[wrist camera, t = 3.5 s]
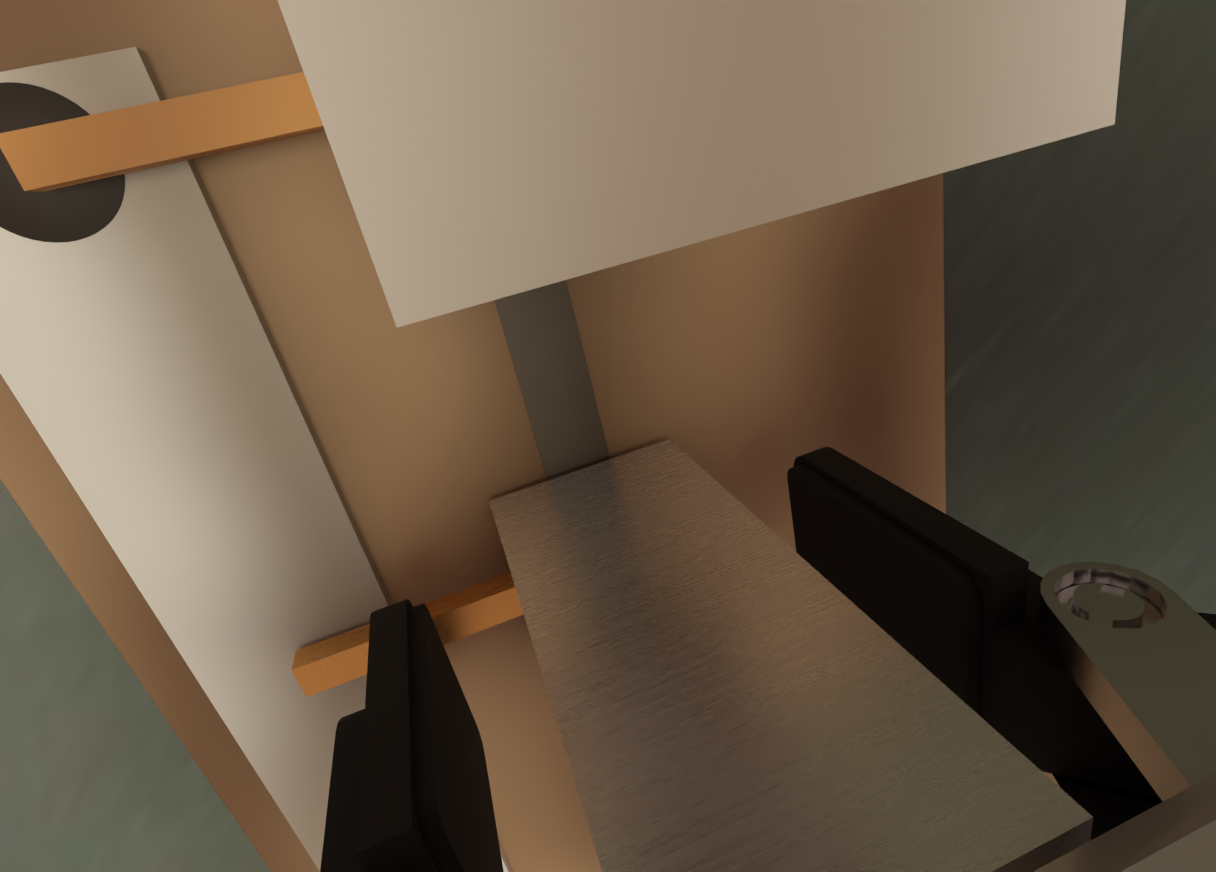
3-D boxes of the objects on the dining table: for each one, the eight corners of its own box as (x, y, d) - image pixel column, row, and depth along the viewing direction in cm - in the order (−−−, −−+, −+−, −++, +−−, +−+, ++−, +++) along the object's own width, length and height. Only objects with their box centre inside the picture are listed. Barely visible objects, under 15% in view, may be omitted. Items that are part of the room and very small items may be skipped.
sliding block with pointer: (668, 438, 12) (1094, 817, 5) (699, 587, 13) (1062, 1057, 6) (261, 579, 10) (-34, 1424, 3) (342, 728, 12) (258, 1554, 5)
